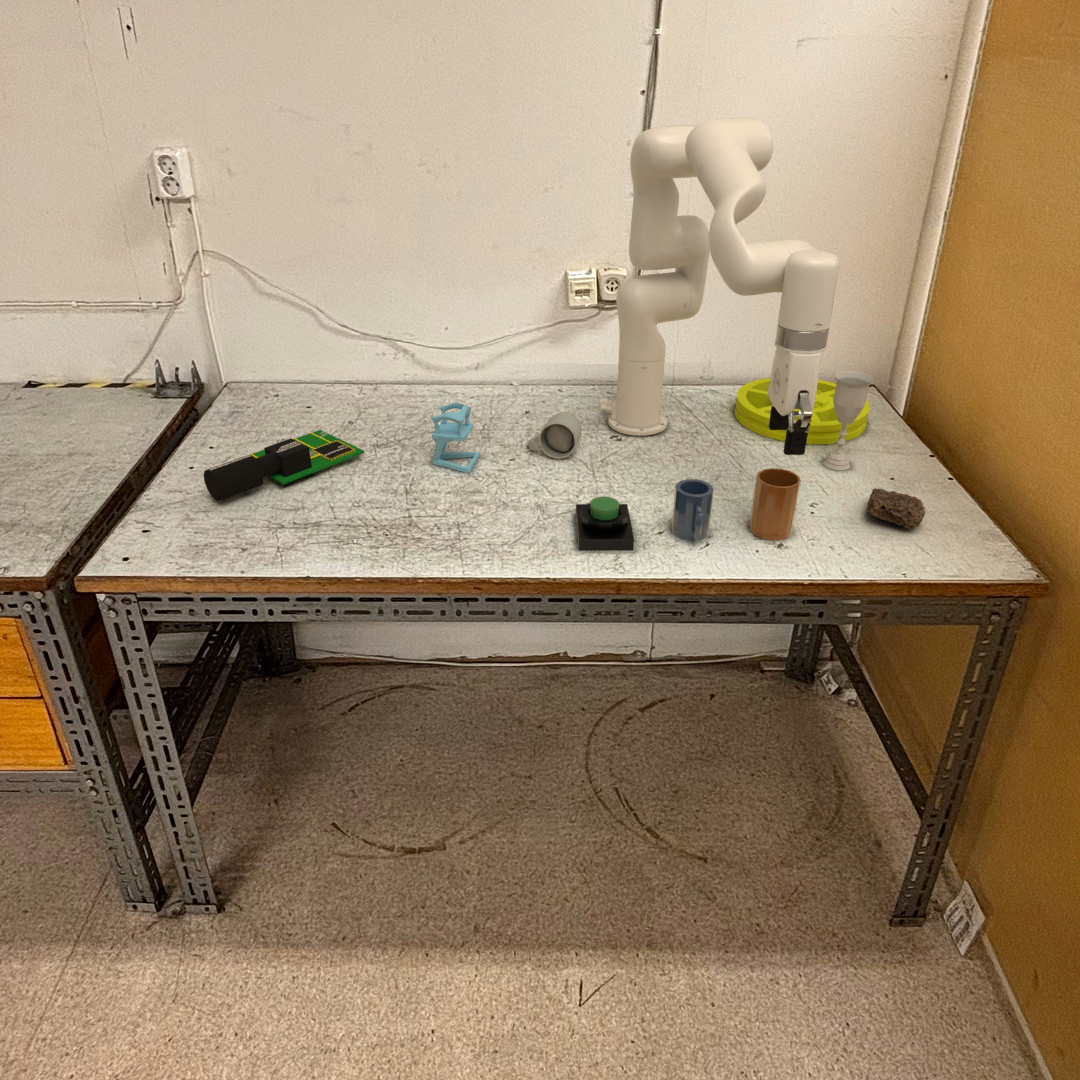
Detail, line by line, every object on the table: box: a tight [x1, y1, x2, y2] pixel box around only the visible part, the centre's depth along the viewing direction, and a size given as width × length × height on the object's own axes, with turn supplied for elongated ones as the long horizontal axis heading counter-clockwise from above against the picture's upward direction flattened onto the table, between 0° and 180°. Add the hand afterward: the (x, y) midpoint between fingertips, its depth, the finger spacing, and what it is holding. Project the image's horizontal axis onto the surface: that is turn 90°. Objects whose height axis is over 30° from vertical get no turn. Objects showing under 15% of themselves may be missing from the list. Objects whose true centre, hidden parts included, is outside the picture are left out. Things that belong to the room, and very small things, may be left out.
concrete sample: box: [866, 488, 926, 529], centre depth 150 cm, size 12×10×5 cm
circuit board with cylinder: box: [203, 429, 365, 503], centre depth 165 cm, size 30×7×15 cm
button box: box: [575, 502, 635, 552], centre depth 146 cm, size 12×9×4 cm
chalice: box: [823, 369, 874, 471], centre depth 165 cm, size 7×7×18 cm
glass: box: [749, 467, 801, 541], centre depth 145 cm, size 7×7×10 cm
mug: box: [671, 478, 714, 542], centre depth 144 cm, size 9×6×8 cm
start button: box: [589, 496, 620, 520], centre depth 145 cm, size 5×5×2 cm
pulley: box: [734, 377, 870, 445], centre depth 188 cm, size 28×28×5 cm
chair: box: [431, 402, 480, 474], centre depth 167 cm, size 8×8×12 cm
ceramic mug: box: [527, 411, 583, 460], centre depth 173 cm, size 11×8×8 cm
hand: (785, 441), depth 139 cm, fingers open, 9 cm apart
